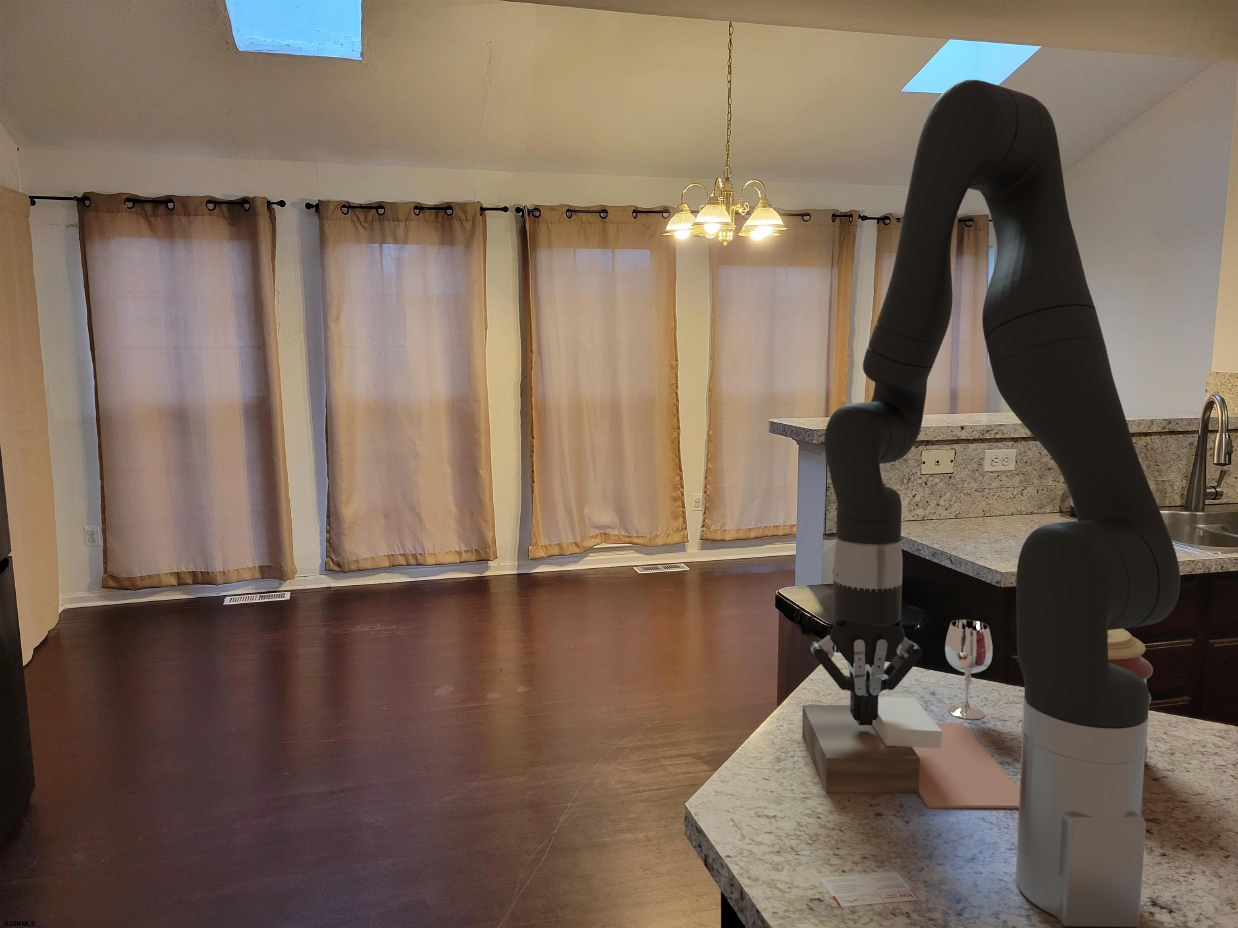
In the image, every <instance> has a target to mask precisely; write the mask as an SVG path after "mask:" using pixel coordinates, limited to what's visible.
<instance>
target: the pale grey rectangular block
mask: <svg viewBox="0 0 1238 928" xmlns="http://www.w3.org/2000/svg"><path fill="white" fill-rule="evenodd" d="M936 723H937V722H935V721H934V719H932V717H931V716H930V714H929V713H928V712H927V711H926V710H925V709H924V707H922V705H921V704H920V702H919V701H917V699H916V698H913V697H911V698H910V697H892V696H891V697H889V696H878V717H877V719H876V720H873V726H874V727H875V729H876V730H877V732H878V733H879V735H880V736H881V738H882V739H883V741H884V742H885V744H886V746H903V747H923V748H941V740H942V730H941V729H940V728H939V727H938V726H937V724H936Z"/></svg>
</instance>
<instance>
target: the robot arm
mask: <svg viewBox="0 0 1238 928" xmlns="http://www.w3.org/2000/svg"><path fill="white" fill-rule="evenodd" d="M1058 140H1059V138H1058V134H1057V131H1056V125H1055V122H1054V120H1053V117H1052V115H1051V113H1050V112H1049V110H1048V108H1047V107H1046V106H1045V105H1044V104H1043V103H1042V102H1040V101H1039V99H1037V98H1036V97H1034V96H1031V95H1029V94H1027V93H1024V92H1019V91H1017V90H1013V89H1010V88H1006V87H1003V86H1001V85H998V84H995V83H991V82H988V81H984V80H981V79H965V80H961V81H959V82H956V83H954V84H953V85H952V86H949V88H947V89H946V90H945V91H944V92H942V93H941V94H940V95H939V96H938V98H937V99H936V100H935V102H934V104H933V105H932V106H931V109H930V110H929V112H928V114H927V116H926V119H925V122H924V124H923V126H922V129H921V133H920V135H919V139H918V143H917V147H916V152H915V157H914V159H913V160H914V161H913V166H912V171H911V176H910V177H911V178H910V181H909V188H908V193H907V196H906V202H905V207H904V212H903V217H902V223H901V228H900V234H899V239H898V245H897V249H896V253H895V259H894V264H893V269H892V273H891V277H890V280H889V284H888V288H887V291H886V294H885V297H884V299H883V303H882V306H881V309H880V312H879V314H878V316H877V320H876V323H875V325H874V329H873V330H872V333H871V337H870V339H869V343H868V346H867V348H866V351H865V354H864V357H863V362H862V370H863V373H864V374H865V376H866V377H867V378H868V379H869V380H871V381H872V382H874V387H873V392H872V398H871V399H870V401H869V402H867V401H866V402H851V403H848V404H847V403H846V404H843V405H841V406H840V407H838V408H837V409H836V410H835V411H834V412H833V413H832V415H830V417H829V420H828V422H827V425H826V428H825V432H824V439H823V440H824V442H823V443H824V453H825V458H826V462H827V467H828V471H829V475H830V480H831V484H832V488H833V491H834V495H835V498H836V502H837V503H836V504H837V506H836V529H835V530H836V532H835V533H836V538H835V539H836V540H835V546H834V547H835V548H834V552H833V566H832V571H831V572H832V576H833V577H832V582H833V583H832V620H831V623H830V625H829V627H828V629H827V635H826V636H825V637H823V639H821V640H820V641H812V642H811V643H810V644H809V649H810V651H811V653H812V654H813V656H814V658H816V661H818V662H819V663H820V665H821V666H822V667H823V669H824V670H825V671H826V672H827V674H828V675H829V676H830V677H831V678H832V680H833V681H834V682H835V683H836V685H837V686H838V687H839V688H840V689H841V690H842V691H848V692H850V700H849V705H850V712H851V715H852V717H853V718H854V720H856V721H857V723H858V724H859V725H872V724H873V720H876V719H877V717H878V697H880V693H882V692H883V691H887V690H889V691H893V690H895V689H896V688H897V686H898V685H900V682H901V681H902V680H904V678H905V677H906V676H907V675H908V674H909V672H910V671H911V670H912V669H913V667H915V665H916V663H918V661H920V659H921V658H922V657H923V655H924V652H923V650H922V649H921V648H920V646H919V645H918V644H916V642H914V641H912V640H909V639H908V638H907V637H906V633H905V630H904V628H903V627H902V623H901V621H902V597H903V596H902V594H903V567H904V566H903V565H904V564H903V563H904V561H903V553H902V540H901V539H902V515H903V514H902V513H903V512H902V511H903V509H902V500H901V496H900V493H899V492H898V490H896V489H894V488H892V487H890V486H886V485H884V482H883V478H882V471H881V467H880V465H883V464H890V463H895V462H897V461H899V460H901V459H902V458H905V456H906V455H907V454H908V453H909V452H910V451H911V449H912V448H913V446H915V443H916V442H917V439H918V438H919V435H920V432H921V429H922V424H923V418H924V412H925V406H926V405H925V404H926V397H927V387H928V378H929V375H930V373H931V372H932V369H933V367H934V365H935V362H936V359H937V358H938V354H939V352H940V349H941V346H942V344H943V341H944V339H945V336H946V334H947V330H948V328H949V326H950V325H949V324H950V321H951V318H952V317H951V316H952V310H953V297H954V296H953V278H952V277H953V276H952V262H951V261H952V259H951V254H952V253H951V252H952V251H951V250H952V238H953V231H954V227H955V223H956V219H957V215H958V213H959V210H960V207H961V205H962V203H963V200H964V198H965V195H966V194H967V191H968V190H969V189H970V190H974V191H979V192H980V193H981V195H982V196H983V198H984V200H985V203H986V205H987V208H988V211H989V214H990V218H991V222H992V226H993V230H994V234H995V239H996V259H995V263H994V268H993V270H992V271H993V272H992V274H991V277H990V280H989V283H988V287H987V290H986V293H985V294H986V295H985V296H984V302H983V308H982V317H981V318H982V319H981V321H982V322H981V323H982V331H983V337H984V341H985V346H986V350H987V355H988V358H989V363H990V367H991V371H992V374H993V379H994V382H995V385H996V387H997V390H998V392H999V394H1000V395H1001V397H1002V398H1003V400H1004V401H1005V403H1006V404H1007V406H1008V407H1009V409H1010V410H1011V411H1012V413H1013V414H1014V415H1015V416H1016V418H1017V419H1018V420H1019V421H1020V422H1021V423H1022V424H1023V426H1024V427H1025V428H1026V429H1027V430H1028V432H1030V434H1031V435H1032V436H1033V437H1034V438H1035V439H1036V441H1037V442H1038V443H1039V445H1041V446H1042V447H1043V448H1044V450H1045V451H1046V452H1047V453H1048V455H1049V456H1050V457H1051V458H1052V460H1053V461H1054V463H1055V464H1056V466H1057V467H1058V468H1059V471H1060V473H1061V475H1062V477H1063V478H1064V481H1065V483H1066V487H1067V488H1068V491H1069V494H1070V497H1071V500H1072V505H1073V508H1074V511H1075V515H1076V519H1077V520H1074V521H1063V522H1062V521H1061V522H1053V523H1049V524H1044V525H1042V526H1039V527H1038V528H1036V529H1035V530H1033V531H1032V532H1031V533H1030V534H1029V535H1028V536H1027V537H1026V539H1025V541H1024V543H1023V544H1022V547H1021V550H1020V552H1019V557H1018V560H1017V561H1018V562H1017V566H1016V567H1017V569H1016V578H1015V585H1016V586H1015V587H1016V588H1015V593H1016V651H1017V660H1018V665H1019V667H1020V670H1021V674H1022V677H1023V682H1024V693H1023V694H1024V697H1023V712H1022V713H1023V715H1022V723H1023V729H1022V728H1021V750H1020V751H1021V753H1020V755H1021V757H1020V773H1019V775H1020V777H1019V788H1020V792H1019V808H1018V815H1017V816H1018V818H1017V835H1016V836H1017V841H1016V844H1017V845H1016V846H1017V847H1016V865H1015V866H1016V868H1015V869H1016V870H1015V882H1016V885H1017V888H1018V889H1019V891H1021V893H1022V894H1023V896H1024V897H1025V898H1027V899H1028V900H1029V901H1030V902H1031V903H1033V904H1034V905H1035V906H1037V907H1039V909H1041V910H1043V911H1045V912H1046V913H1049V914H1050V915H1052V916H1054V917H1056V918H1057V919H1058V920H1059V922H1060V923H1061V924H1062V925H1063V926H1065V927H1103V928H1104V927H1105V928H1106V927H1107V928H1108V927H1110V928H1112V927H1114V928H1115V927H1116V928H1117V927H1118V928H1119V927H1122V928H1123V927H1124V928H1138V927H1139V926H1140V916H1141V915H1140V914H1141V901H1142V898H1141V897H1142V887H1143V885H1142V884H1143V870H1144V859H1145V857H1144V854H1145V841H1146V839H1145V838H1146V826H1147V823H1146V820H1145V818H1144V817H1143V816H1142V807H1143V806H1142V805H1143V792H1144V789H1143V788H1144V778H1145V777H1144V774H1145V763H1144V761H1145V749H1146V744H1147V740H1146V734H1147V735H1148V724H1147V717H1148V718H1149V709H1148V707H1150V703H1149V693H1150V692H1149V691H1150V690H1149V688H1148V686H1147V682H1146V683H1145V682H1144V681H1143V680H1142V679H1141V678H1140V677H1139V676H1138V675H1136V674H1135V673H1133V672H1131V671H1129V670H1127V669H1125V668H1122V667H1120V666H1118V665H1115V664H1112V663H1109V659H1108V630H1114V629H1127V628H1128V629H1130V628H1131V629H1132V628H1137V627H1146V626H1149V625H1154V624H1156V623H1159V622H1161V621H1163V620H1164V619H1166V618H1167V617H1168V616H1169V615H1170V614H1171V613H1172V612H1173V610H1175V609H1174V608H1175V607H1176V605H1177V603H1178V600H1179V596H1180V591H1181V571H1180V565H1179V564H1180V563H1179V560H1178V556H1177V552H1176V549H1175V547H1174V544H1173V541H1172V538H1171V535H1170V532H1169V530H1168V527H1167V525H1166V523H1165V520H1164V518H1163V515H1162V513H1161V511H1160V508H1159V505H1158V503H1157V501H1156V499H1155V496H1154V493H1153V491H1152V489H1151V485H1150V484H1149V481H1148V479H1147V476H1146V474H1145V471H1144V469H1143V466H1142V464H1141V461H1140V458H1139V455H1138V453H1137V451H1136V448H1135V444H1134V441H1133V439H1132V435H1131V431H1130V429H1129V425H1128V421H1127V418H1126V416H1125V415H1126V414H1125V412H1124V409H1123V405H1122V402H1121V400H1120V399H1121V398H1120V396H1119V392H1118V389H1117V386H1116V383H1115V381H1114V377H1113V373H1112V369H1111V364H1110V360H1109V355H1108V350H1107V346H1106V342H1105V338H1104V336H1103V331H1102V328H1101V324H1100V321H1099V316H1098V313H1097V309H1096V306H1095V303H1094V300H1093V298H1092V295H1091V291H1090V289H1089V285H1088V283H1087V277H1086V274H1085V270H1084V266H1083V263H1082V259H1081V255H1080V250H1079V247H1078V244H1077V243H1078V242H1077V238H1076V236H1075V232H1074V229H1073V225H1072V224H1073V223H1072V222H1071V217H1070V213H1069V208H1068V202H1067V197H1066V196H1067V195H1066V188H1065V183H1064V176H1063V174H1064V173H1063V168H1062V167H1063V166H1062V160H1061V154H1060V146H1059V141H1058ZM834 646H835V647H836V648H837V650H838V652H839V653H840V655H841V656H842V658H844V660H845V661H846V662H847V667H848V675H845V674H844V673H843V672H842V670H841V669H840V668H839V667H838V665H837V664H836V663H835V662H834V660H833V659H832V658H833V657H834V656H835V652H834V650H833V647H834ZM895 651H896V655H895V656H894V657H893V659H892V660H891V661H890V662H889V663H888V664H887V666H886V667H885V664H886V662H888V661H889V659H890V658H891V657H892V655H894V653H895ZM1145 762H1146V761H1145Z"/></svg>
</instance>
